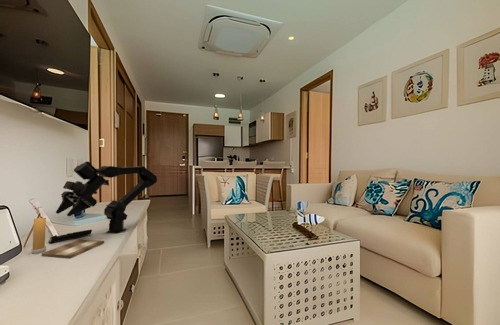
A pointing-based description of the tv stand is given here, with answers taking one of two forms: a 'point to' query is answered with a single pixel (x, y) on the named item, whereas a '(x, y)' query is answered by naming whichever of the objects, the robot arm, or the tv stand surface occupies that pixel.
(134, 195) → the robot arm
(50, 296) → the tv stand surface
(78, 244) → the subfloor panel
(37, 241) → the orange rounded post
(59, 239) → the electric trimmer
